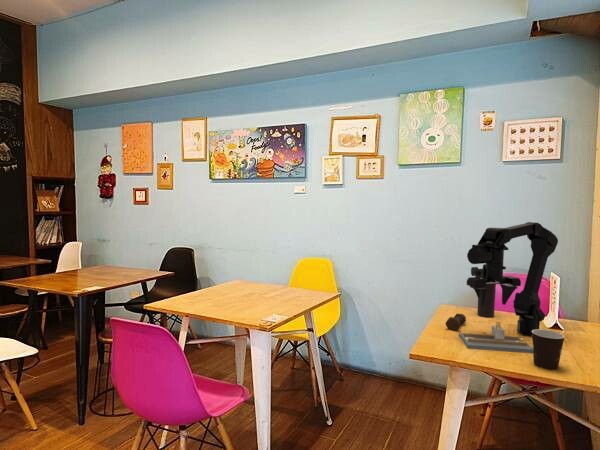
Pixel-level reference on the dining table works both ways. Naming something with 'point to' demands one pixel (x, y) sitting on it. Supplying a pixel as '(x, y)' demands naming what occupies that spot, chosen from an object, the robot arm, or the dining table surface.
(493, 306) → the bottle
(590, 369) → the dining table surface
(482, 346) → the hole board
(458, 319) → the bolt
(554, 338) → the coffee mug
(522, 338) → the fixed brass pin
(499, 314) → the dining table surface
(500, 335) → the sliding pin block
